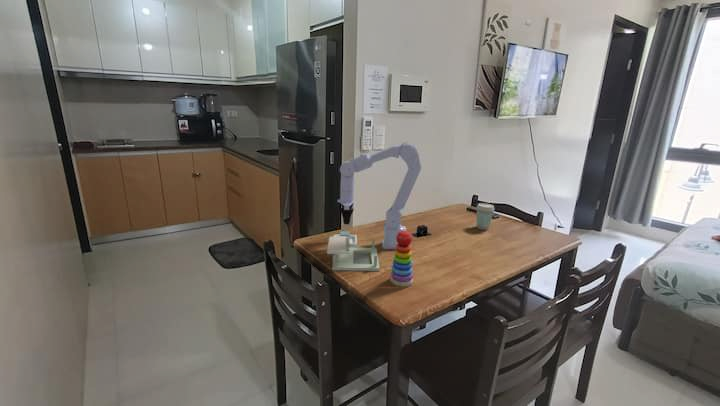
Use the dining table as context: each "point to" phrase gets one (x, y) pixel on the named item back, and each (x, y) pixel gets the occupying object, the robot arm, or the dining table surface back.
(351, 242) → the dish
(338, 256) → the puzzle board
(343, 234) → the block
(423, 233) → the black box
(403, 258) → the stacking toy
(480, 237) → the dining table surface
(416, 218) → the dining table surface
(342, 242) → the cover
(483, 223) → the coffee cup
